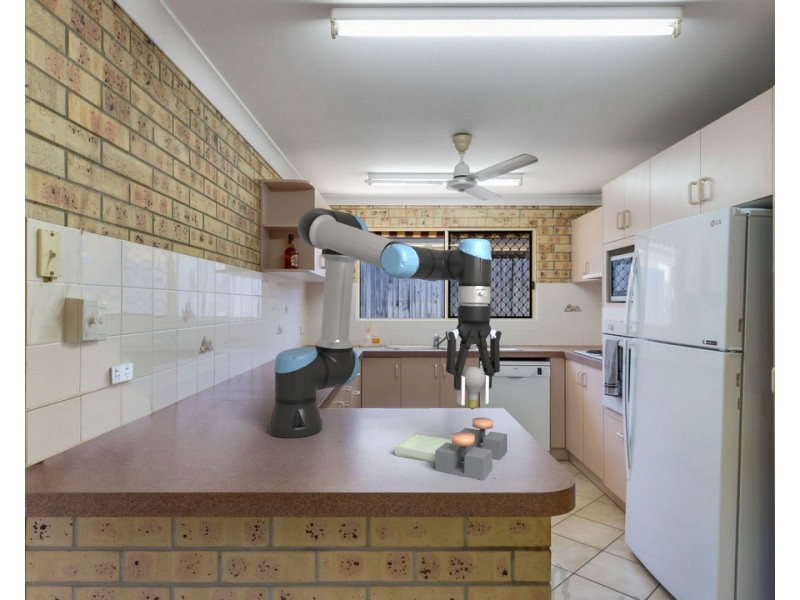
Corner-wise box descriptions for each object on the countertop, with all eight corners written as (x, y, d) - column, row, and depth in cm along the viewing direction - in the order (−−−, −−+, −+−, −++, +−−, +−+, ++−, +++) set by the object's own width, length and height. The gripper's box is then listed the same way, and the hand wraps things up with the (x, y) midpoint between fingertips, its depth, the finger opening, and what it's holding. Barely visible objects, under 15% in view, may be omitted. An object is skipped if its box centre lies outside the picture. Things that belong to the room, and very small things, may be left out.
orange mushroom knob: (469, 443, 109) (469, 421, 109) (476, 437, 114) (476, 416, 114) (489, 446, 107) (489, 424, 107) (495, 440, 111) (495, 419, 111)
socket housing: (435, 470, 98) (435, 450, 98) (465, 444, 115) (465, 427, 115) (483, 480, 93) (483, 458, 93) (507, 451, 110) (507, 433, 110)
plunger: (448, 462, 97) (448, 437, 97) (456, 455, 101) (456, 431, 101) (470, 466, 94) (470, 440, 94) (477, 458, 99) (477, 434, 99)
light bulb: (488, 411, 102) (489, 368, 102) (466, 412, 101) (467, 368, 101) (478, 405, 107) (479, 364, 107) (457, 406, 106) (458, 365, 106)
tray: (394, 455, 107) (394, 446, 107) (415, 441, 118) (415, 433, 118) (438, 463, 102) (438, 454, 102) (456, 449, 112) (456, 440, 112)
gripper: (443, 305, 98) (442, 409, 98) (517, 305, 103) (515, 404, 103) (431, 304, 105) (430, 401, 105) (501, 304, 110) (499, 397, 110)
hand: (472, 402), depth 104 cm, fingers closed on light bulb, 5 cm apart
